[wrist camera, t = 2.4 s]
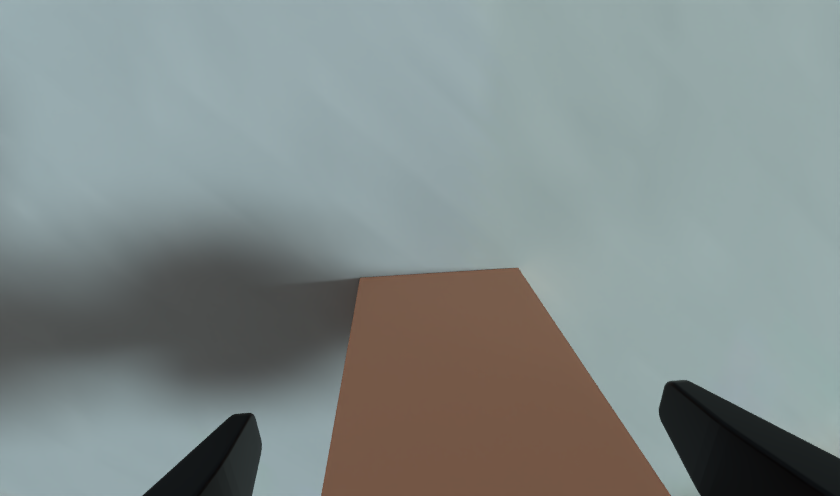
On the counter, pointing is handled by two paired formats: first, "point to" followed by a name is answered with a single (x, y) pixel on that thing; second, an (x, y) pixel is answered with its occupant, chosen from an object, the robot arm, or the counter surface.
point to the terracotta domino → (472, 398)
